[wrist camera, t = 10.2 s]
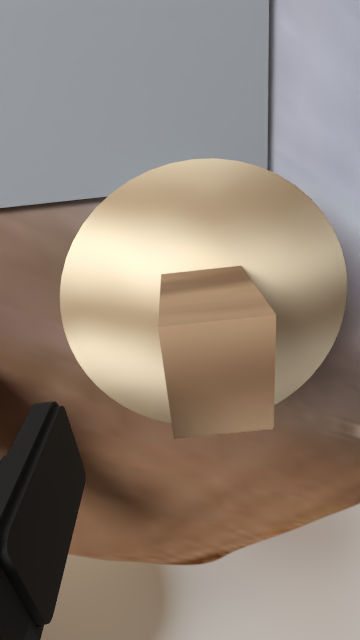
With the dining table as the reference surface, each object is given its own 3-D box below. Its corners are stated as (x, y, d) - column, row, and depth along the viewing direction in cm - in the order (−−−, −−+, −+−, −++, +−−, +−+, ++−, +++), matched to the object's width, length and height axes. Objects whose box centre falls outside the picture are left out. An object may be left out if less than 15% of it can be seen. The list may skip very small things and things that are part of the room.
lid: (32, 177, 16) (-63, 186, 9) (351, 141, 16) (482, 125, 9) (97, 423, 22) (67, 531, 16) (325, 400, 22) (391, 500, 15)
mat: (-151, -229, 14) (-164, -245, 14) (267, -282, 14) (272, -299, 14) (-11, 208, 22) (-15, 209, 22) (264, 178, 22) (267, 179, 21)
